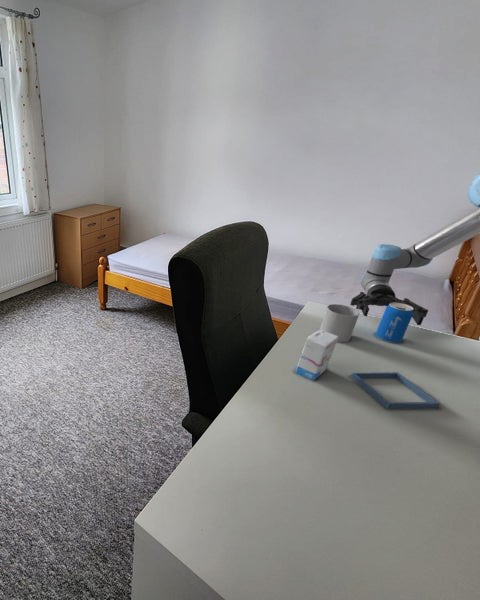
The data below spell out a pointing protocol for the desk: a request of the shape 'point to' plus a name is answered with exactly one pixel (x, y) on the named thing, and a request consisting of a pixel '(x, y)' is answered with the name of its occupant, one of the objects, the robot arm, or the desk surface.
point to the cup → (340, 321)
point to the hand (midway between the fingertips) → (392, 316)
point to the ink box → (316, 354)
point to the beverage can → (394, 322)
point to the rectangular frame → (401, 405)
